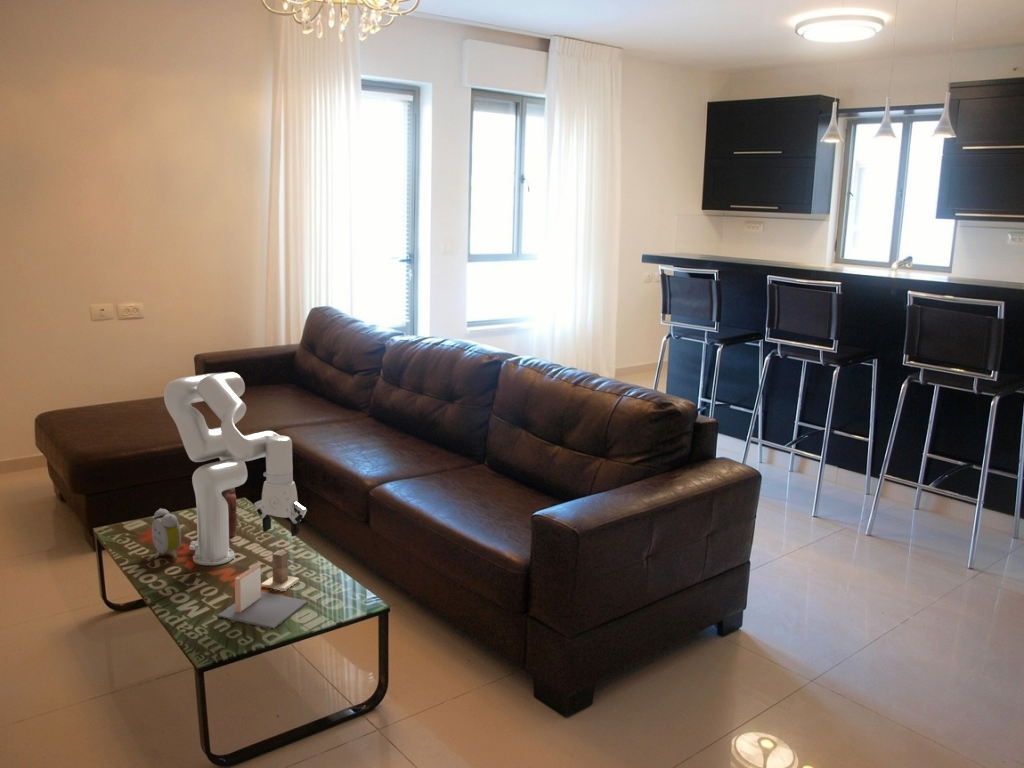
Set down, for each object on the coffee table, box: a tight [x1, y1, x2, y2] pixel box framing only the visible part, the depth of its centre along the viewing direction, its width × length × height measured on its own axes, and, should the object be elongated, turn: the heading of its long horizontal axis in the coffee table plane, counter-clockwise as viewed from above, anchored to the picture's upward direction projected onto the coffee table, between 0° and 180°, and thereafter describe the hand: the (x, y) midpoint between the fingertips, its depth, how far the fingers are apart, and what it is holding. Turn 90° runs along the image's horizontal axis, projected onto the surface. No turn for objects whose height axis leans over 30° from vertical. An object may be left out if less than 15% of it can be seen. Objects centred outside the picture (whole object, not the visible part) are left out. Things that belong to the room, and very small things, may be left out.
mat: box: [217, 590, 309, 630], centre depth 235 cm, size 18×17×1 cm
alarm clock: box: [151, 507, 182, 560], centre depth 266 cm, size 12×7×15 cm, turn 44°
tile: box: [234, 564, 262, 612], centre depth 235 cm, size 2×10×10 cm, turn 162°
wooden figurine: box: [221, 487, 238, 538], centre depth 287 cm, size 12×6×18 cm, turn 29°
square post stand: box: [261, 549, 300, 592], centre depth 250 cm, size 8×8×10 cm
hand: (281, 532), depth 248 cm, fingers open, 9 cm apart
